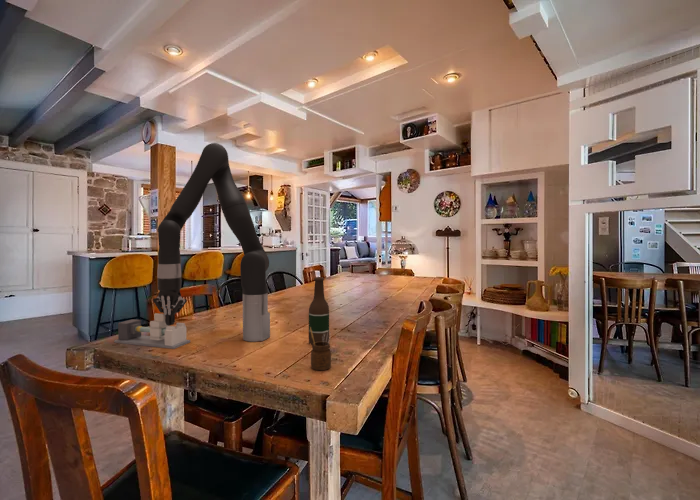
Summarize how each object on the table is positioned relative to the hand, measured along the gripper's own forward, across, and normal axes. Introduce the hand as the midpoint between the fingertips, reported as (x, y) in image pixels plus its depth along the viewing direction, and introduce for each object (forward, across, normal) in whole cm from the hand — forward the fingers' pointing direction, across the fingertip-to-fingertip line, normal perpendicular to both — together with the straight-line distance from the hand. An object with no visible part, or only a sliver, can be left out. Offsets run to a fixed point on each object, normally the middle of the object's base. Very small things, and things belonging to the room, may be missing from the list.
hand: (170, 324), depth 124 cm
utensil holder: (+7, -59, +6) cm, 60 cm away
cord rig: (+7, +8, 0) cm, 10 cm away
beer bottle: (+7, -50, -17) cm, 54 cm away
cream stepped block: (+5, +5, 0) cm, 7 cm away
